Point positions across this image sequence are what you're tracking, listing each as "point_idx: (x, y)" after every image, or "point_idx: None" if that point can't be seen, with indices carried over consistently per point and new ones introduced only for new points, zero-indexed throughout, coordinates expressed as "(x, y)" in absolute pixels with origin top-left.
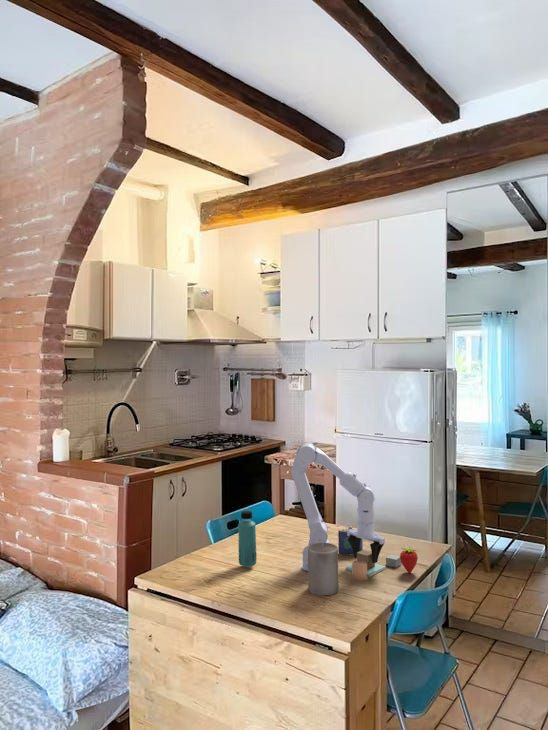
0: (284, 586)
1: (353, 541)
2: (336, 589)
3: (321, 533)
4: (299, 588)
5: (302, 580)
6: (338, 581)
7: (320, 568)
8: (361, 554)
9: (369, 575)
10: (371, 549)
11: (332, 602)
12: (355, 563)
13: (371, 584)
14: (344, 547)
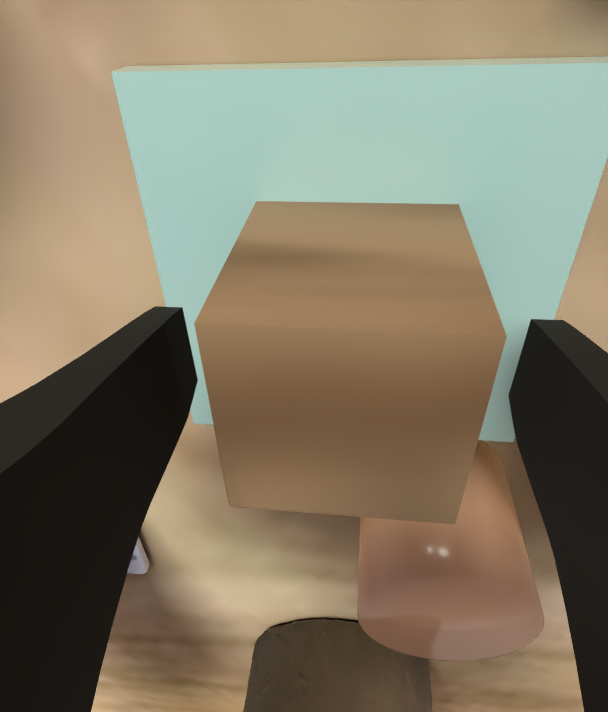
0: (172, 680)
1: (82, 706)
2: (430, 686)
3: None
4: (238, 676)
5: (165, 629)
6: (421, 707)
7: None
8: (327, 507)
9: (507, 433)
10: (585, 674)
11: (468, 709)
12: (408, 634)
13: None
14: None
